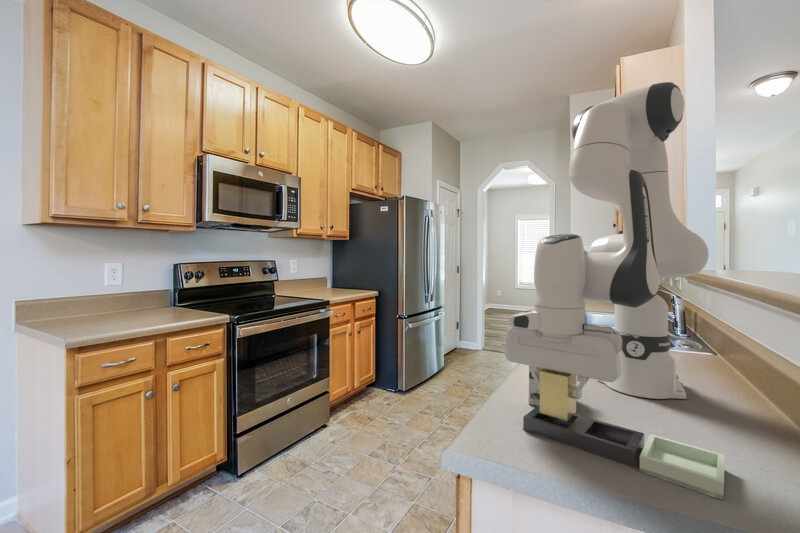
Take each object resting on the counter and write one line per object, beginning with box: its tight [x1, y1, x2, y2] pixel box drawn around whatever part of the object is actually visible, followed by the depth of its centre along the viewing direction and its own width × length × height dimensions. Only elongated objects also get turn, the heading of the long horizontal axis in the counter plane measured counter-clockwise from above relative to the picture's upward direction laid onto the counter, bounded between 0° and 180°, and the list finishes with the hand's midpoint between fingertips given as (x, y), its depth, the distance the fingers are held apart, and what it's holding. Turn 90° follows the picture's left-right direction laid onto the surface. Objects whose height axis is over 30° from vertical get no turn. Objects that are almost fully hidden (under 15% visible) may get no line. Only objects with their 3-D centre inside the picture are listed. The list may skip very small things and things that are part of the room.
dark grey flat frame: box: [522, 404, 645, 468], centre depth 66 cm, size 8×18×2 cm, turn 48°
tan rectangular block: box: [540, 369, 577, 421], centre depth 69 cm, size 5×5×8 cm
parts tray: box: [638, 433, 726, 501], centre depth 56 cm, size 10×10×2 cm
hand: (557, 393), depth 69 cm, fingers closed on tan rectangular block, 5 cm apart
